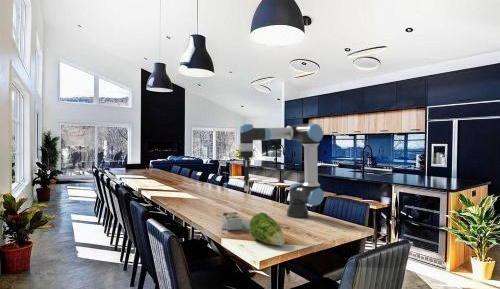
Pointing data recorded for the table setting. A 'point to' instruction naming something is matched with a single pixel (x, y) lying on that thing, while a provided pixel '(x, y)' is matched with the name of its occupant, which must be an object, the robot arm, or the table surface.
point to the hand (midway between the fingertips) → (246, 190)
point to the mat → (244, 226)
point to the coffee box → (232, 221)
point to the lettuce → (266, 229)
